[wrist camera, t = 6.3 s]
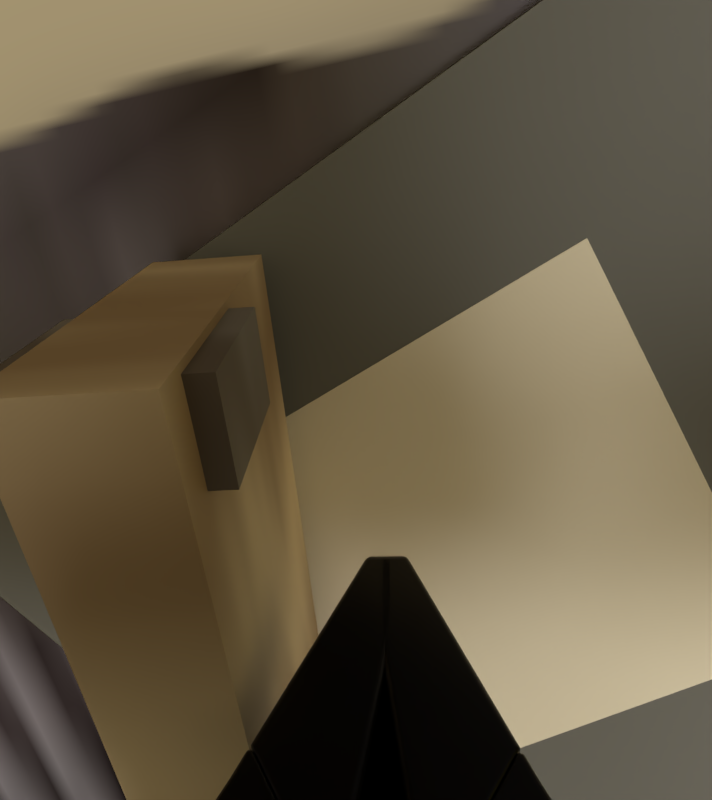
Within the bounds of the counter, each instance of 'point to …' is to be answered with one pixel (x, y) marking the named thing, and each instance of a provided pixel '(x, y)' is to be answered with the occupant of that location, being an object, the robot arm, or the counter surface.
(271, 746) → the robot arm
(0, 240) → the counter surface
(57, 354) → the tan wooden bar
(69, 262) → the counter surface
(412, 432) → the grey panel
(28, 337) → the counter surface
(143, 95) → the counter surface
